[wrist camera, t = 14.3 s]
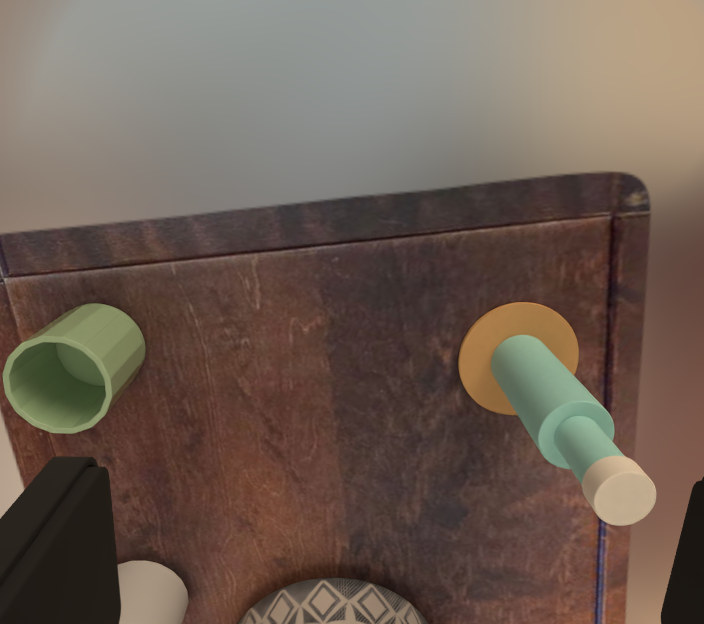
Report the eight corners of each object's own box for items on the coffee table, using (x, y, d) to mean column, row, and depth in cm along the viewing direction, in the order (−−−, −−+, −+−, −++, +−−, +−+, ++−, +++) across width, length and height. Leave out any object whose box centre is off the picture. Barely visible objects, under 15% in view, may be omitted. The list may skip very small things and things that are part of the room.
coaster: (464, 299, 43) (465, 301, 43) (585, 304, 43) (588, 305, 43) (452, 411, 46) (453, 413, 45) (567, 414, 46) (568, 416, 46)
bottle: (494, 333, 43) (587, 457, 27) (553, 335, 44) (680, 459, 27) (487, 388, 45) (572, 537, 29) (544, 389, 45) (661, 539, 29)
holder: (49, 301, 42) (-4, 334, 36) (143, 304, 43) (106, 338, 36) (59, 385, 44) (10, 432, 38) (148, 388, 45) (115, 434, 38)
